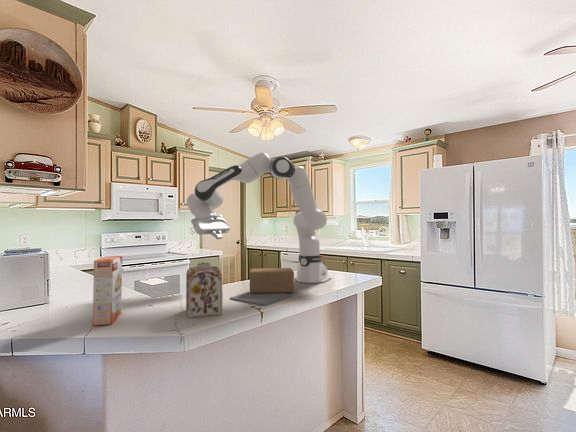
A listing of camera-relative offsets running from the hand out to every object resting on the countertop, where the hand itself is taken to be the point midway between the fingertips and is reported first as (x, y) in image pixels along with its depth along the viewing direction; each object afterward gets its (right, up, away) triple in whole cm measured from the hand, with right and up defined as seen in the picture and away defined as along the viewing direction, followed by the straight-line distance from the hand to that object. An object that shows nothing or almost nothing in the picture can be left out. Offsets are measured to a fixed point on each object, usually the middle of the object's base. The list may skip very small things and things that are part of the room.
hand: (219, 238), depth 156 cm
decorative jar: (+3, -24, -41) cm, 48 cm away
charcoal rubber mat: (+22, -24, -19) cm, 38 cm away
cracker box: (-27, -24, -49) cm, 61 cm away
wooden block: (+16, -19, -11) cm, 27 cm away
